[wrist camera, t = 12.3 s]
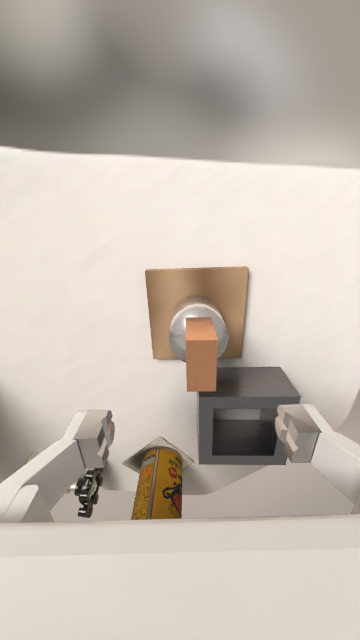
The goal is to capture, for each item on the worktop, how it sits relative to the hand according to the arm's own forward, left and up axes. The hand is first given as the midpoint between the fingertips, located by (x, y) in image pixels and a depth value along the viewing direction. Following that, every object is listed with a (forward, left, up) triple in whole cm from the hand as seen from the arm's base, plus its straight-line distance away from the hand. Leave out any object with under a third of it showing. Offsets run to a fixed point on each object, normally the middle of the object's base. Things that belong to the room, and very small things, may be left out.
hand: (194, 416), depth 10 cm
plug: (+1, 0, -13) cm, 13 cm away
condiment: (-5, -24, -14) cm, 28 cm away
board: (+1, 0, -14) cm, 14 cm away
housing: (+6, -12, -14) cm, 19 cm away
